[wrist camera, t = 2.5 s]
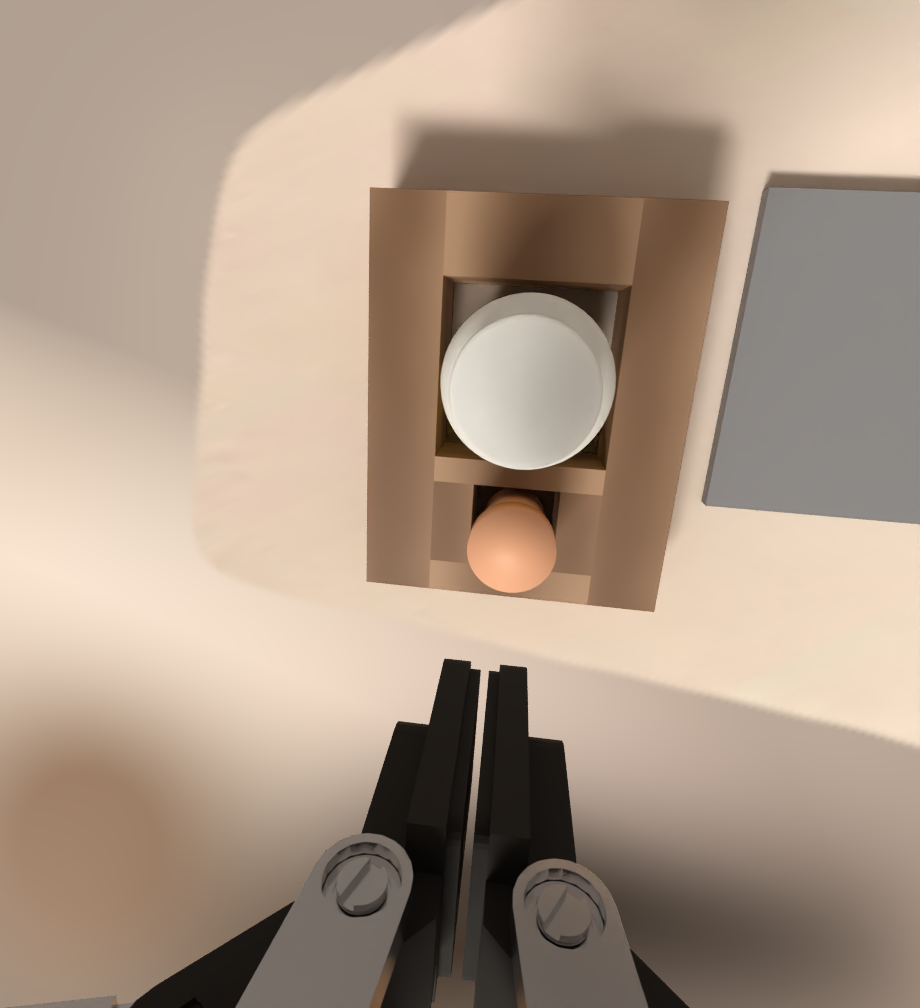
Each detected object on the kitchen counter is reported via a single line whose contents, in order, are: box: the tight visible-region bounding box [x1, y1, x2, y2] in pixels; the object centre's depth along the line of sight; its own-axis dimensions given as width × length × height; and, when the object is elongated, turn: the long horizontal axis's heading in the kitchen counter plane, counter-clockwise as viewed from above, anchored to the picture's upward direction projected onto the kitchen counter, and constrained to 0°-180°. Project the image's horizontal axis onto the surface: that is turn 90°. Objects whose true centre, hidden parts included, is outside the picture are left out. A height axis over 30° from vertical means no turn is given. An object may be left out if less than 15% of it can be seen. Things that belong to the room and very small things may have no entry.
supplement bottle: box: [440, 292, 616, 470], centre depth 19 cm, size 5×5×10 cm
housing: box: [367, 188, 729, 612], centre depth 22 cm, size 12×15×3 cm
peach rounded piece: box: [467, 488, 557, 593], centre depth 22 cm, size 3×3×4 cm
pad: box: [702, 187, 920, 524], centre depth 21 cm, size 12×12×1 cm
